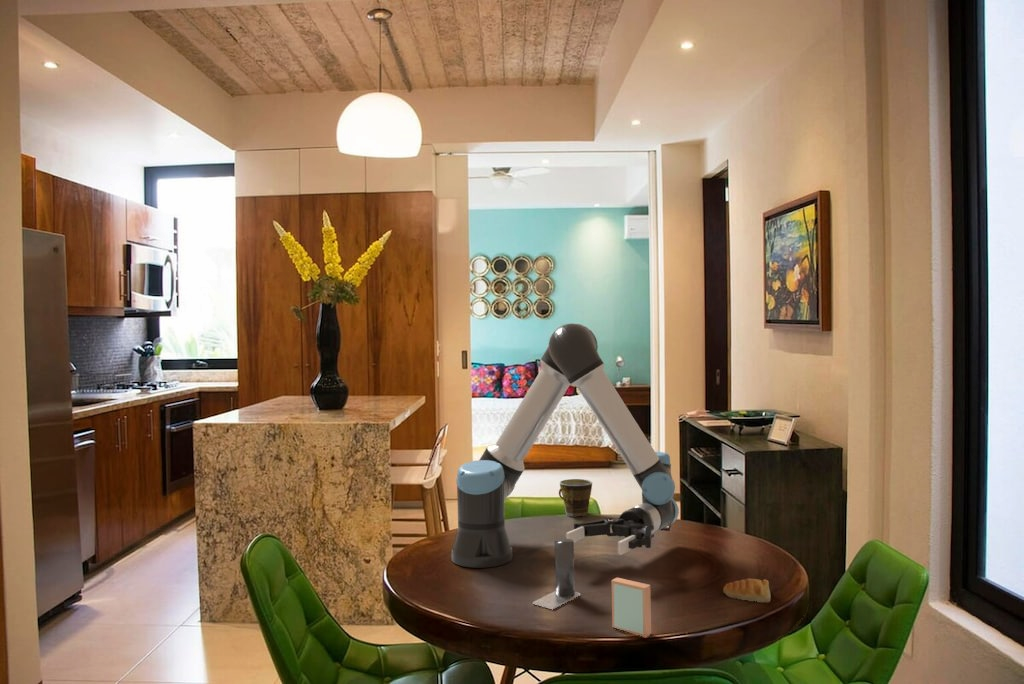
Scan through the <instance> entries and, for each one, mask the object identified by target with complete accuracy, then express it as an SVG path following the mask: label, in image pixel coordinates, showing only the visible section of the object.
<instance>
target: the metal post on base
mask: <svg viewBox="0 0 1024 684" xmlns="http://www.w3.org/2000/svg"><path fill="white" fill-rule="evenodd" d="M574 546H575V543H574V541H573V540H571V539H566V538H557V539H555V540H554V574H555V576H554V577H555V579H554V580H555V581H554V583H555V590H554V591H552V592H550V593H548V594H546V595H543V596H542V597H540V598H538V599H536V600H533V601H532V605H533V604H535V605H539V606H542V607H546V608H549V609H552V610H553V609H555V608H557V607H559V606H560V607H562V606H563V605H562V604H564V605H566V604H568V603H569V602H568V601H570V602H571V600H572V601H573V600H575V599H577V598H579V597H580V596H581V592H578V591H575V552H574V551H575V549H574ZM578 596H579V597H578ZM576 597H577V598H576ZM574 598H575V599H574ZM567 602H568V603H567ZM565 603H566V604H565ZM561 605H562V606H561ZM542 607H541V608H542ZM560 607H559V608H560ZM549 609H548V610H549ZM557 609H558V608H557ZM552 610H551V611H552ZM555 610H556V609H555ZM553 611H554V610H553Z"/></svg>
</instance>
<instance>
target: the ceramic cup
mask: <svg viewBox="0 0 1024 684" xmlns="http://www.w3.org/2000/svg"><path fill="white" fill-rule="evenodd" d="M559 487H560V488H559V490H558V496H559V498H560V499H562V500H563V506H564V511H565V514H566V516H567V517H570V516H575V517H574V518H577V517H576V516H583V517H585V516H588V514H589V506H590V501H591V500H590V498H591V495H592V490H593V488H592V487H593V482H592V481H591V480H589V479H585V478H584V479H583V478H582V479H581V478H572V479H564V480H561V481H560V482H559Z"/></svg>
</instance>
